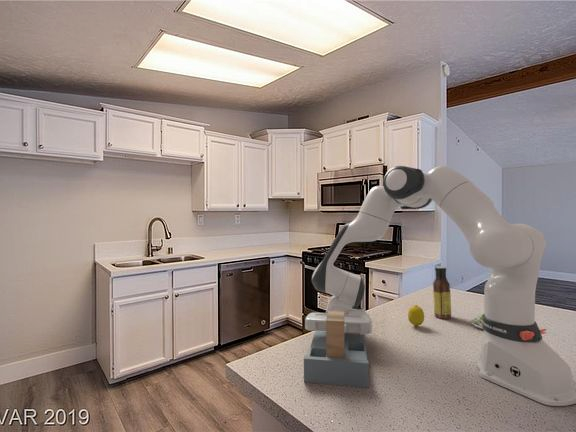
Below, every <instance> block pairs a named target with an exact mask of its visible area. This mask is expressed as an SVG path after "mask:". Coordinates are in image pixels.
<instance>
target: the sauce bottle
mask: <svg viewBox="0 0 576 432" xmlns="http://www.w3.org/2000/svg"><path fill="white" fill-rule="evenodd" d="M434 271H435V279H434V281H433V283H432V287H433V288H432V289H433V290H432V294H433V295H432V297H433V314H434V316H435V317H436V318H438V319H442V320H448V319H451V317H452V303H451V302H452V301H451V300H452V299H451V284H450V282H449V281H448V279H447V267H446V266H435V267H434Z"/></svg>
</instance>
